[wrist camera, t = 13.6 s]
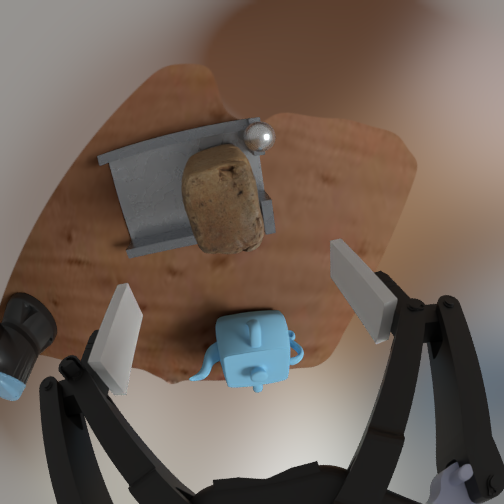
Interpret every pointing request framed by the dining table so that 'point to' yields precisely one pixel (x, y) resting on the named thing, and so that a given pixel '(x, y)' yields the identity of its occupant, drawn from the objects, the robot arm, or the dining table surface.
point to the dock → (178, 180)
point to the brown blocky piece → (222, 201)
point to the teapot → (252, 349)
